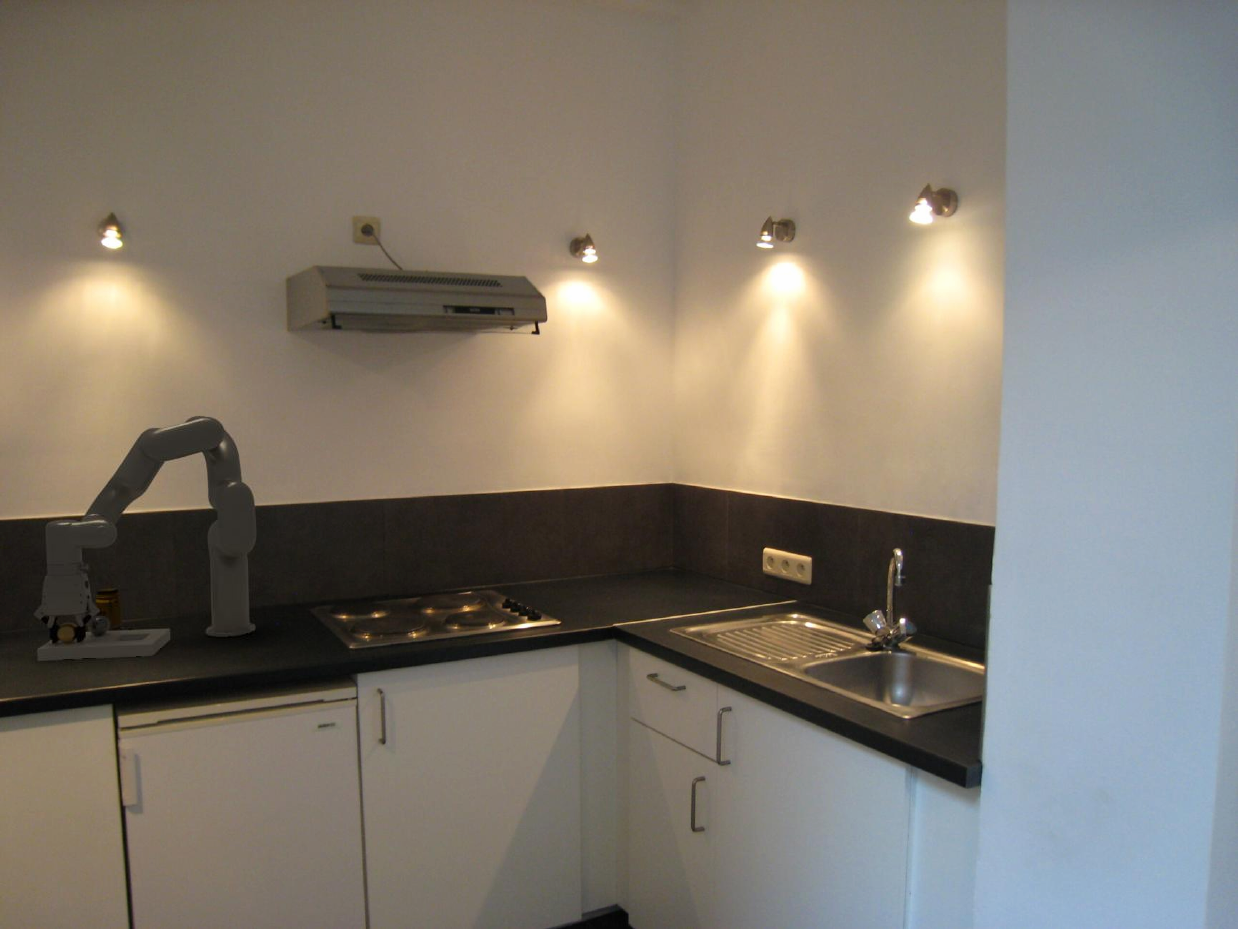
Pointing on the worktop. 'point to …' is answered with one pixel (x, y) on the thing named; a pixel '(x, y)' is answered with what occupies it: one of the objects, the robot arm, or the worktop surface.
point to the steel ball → (98, 625)
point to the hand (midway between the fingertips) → (68, 640)
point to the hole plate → (107, 645)
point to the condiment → (110, 607)
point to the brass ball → (66, 632)
